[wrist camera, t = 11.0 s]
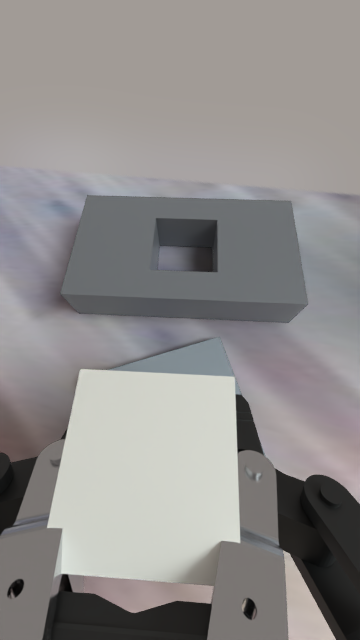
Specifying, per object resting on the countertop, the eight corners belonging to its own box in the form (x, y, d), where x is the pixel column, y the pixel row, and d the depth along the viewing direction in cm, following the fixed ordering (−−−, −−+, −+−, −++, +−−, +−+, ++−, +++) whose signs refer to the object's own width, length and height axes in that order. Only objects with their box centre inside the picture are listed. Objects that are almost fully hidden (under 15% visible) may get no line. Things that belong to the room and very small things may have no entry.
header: (276, 230, 24) (291, 201, 21) (288, 322, 20) (308, 304, 17) (99, 224, 25) (87, 195, 22) (79, 313, 21) (60, 293, 18)
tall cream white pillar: (203, 403, 16) (234, 376, 6) (202, 472, 15) (241, 588, 5) (144, 400, 16) (80, 369, 6) (137, 468, 15) (37, 571, 5)
